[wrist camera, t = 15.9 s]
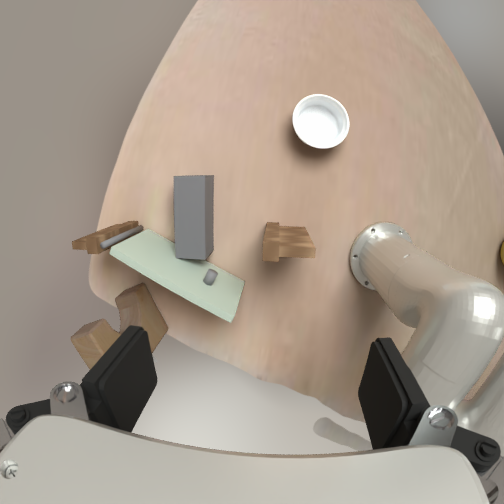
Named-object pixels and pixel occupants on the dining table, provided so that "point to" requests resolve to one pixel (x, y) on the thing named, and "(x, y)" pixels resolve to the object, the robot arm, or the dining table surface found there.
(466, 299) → the robot arm
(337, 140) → the ramekin
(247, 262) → the dining table surface
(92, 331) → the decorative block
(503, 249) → the fruit
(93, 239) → the frame
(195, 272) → the door
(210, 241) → the grey block
